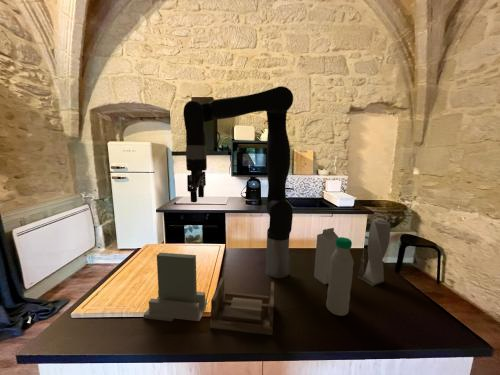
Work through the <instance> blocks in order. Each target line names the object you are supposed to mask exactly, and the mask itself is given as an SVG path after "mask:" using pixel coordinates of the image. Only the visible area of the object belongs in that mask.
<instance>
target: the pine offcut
mask: <svg viewBox="0 0 500 375" xmlns="http://www.w3.org/2000/svg"><path fill="white" fill-rule="evenodd" d="M261 312H262V300H254V299H244V298H234V297H233V300H232V303H231V306H230V317H239V318H248V319H257V320H261Z"/></svg>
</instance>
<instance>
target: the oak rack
mask: <svg viewBox="0 0 500 375" xmlns="http://www.w3.org/2000/svg"><path fill="white" fill-rule="evenodd" d="M233 297H234V298H244V299H254V300H262V309H263V325H260V324H251V323H242V322H234V321H225V320H222V313H223V310H224V307H225V305H227V306H231V303H232V300H233ZM274 299H275V281H271V282H270V296H269V295H262V294H252V293H251V294H250V293H241V292H232V291H225V277H220V279H219V282H218V284H217V286H216V288H215V290H214V293H213V296H212V298H211V300H210V307H211V308H210V311H211V312H210V315H211V316H210V317H211V318H210V321H209V322H210V323H209V324H210V325H209V326H210V329H218V330H226V331H235V332H243V333H251V334H252V333H253V334H258V335H259V334H260V335H268V336H269V335H270V336H273V334H274V333H273V328H274V326H273V325H274V307H275V306H274V303H275V300H274Z"/></svg>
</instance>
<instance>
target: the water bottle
mask: <svg viewBox="0 0 500 375" xmlns="http://www.w3.org/2000/svg"><path fill="white" fill-rule="evenodd" d="M338 237H339V236H338ZM352 246H353V242H352V240H351V239H350V238H348V237H342V236H340V237H339V238H337V239H336V247H337V249H336V250H335V251H334V253H333V254H332V256H331V258H330V262H331V264H330V270H329V283H328V287H327V292H326V293H327V297H326V298H327V299H326V308H327V310H328V311H329V312H330V313H331V314H333V315H335V316H340V317H344V316H346V315H348V314H349V312H350V311H349V310H350V301H351V289H352V284H353V283H352V282H353V274H354V273H353V272H354V271H353V270H354V269H353V267H354V265H355V262H354V258H353V257H352V253H351V251H350V250H351V249H352Z"/></svg>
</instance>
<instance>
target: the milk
mask: <svg viewBox="0 0 500 375" xmlns="http://www.w3.org/2000/svg"><path fill="white" fill-rule="evenodd" d="M334 228H335V227H331V228H326V229H325V228H324V229H322V233H319V234H318V233H317V235H316V246H315V256H314V257H315V259H314V272H313V277H314V278H315V279H316V280H317V281H319V282H320V283H322V284H323V285H326V284H329V270H330V264H331V262H330V258H331V256H332V254H333V253H334V251H335V250H336V249H337V247H336V239H337V238H339V236H338V234H337V233H336V232H335V229H334Z"/></svg>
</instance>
